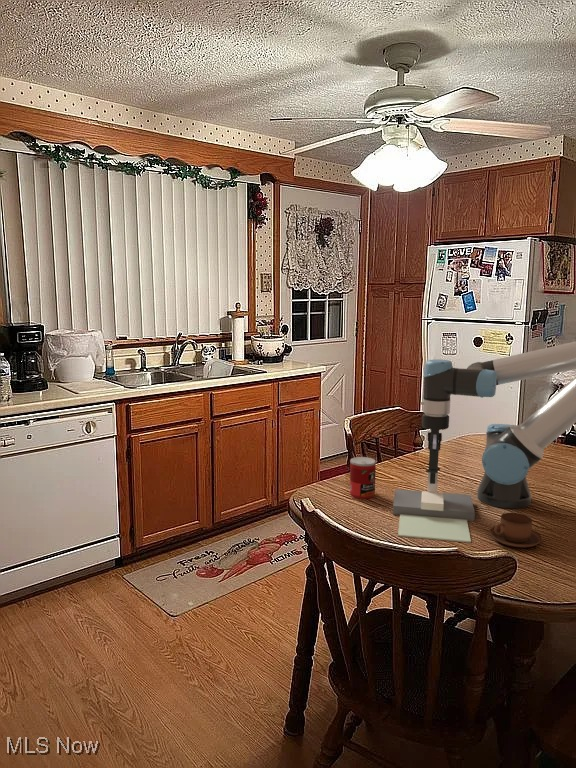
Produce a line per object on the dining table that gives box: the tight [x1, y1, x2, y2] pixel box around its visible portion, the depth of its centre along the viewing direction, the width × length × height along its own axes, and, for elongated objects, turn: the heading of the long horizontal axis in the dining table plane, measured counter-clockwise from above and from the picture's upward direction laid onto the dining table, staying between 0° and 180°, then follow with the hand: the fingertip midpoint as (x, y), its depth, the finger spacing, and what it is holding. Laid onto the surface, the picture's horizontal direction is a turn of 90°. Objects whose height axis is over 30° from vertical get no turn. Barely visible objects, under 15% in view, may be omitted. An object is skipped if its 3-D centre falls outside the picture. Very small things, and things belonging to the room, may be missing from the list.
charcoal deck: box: [392, 488, 476, 522], centre depth 167 cm, size 22×14×2 cm, turn 77°
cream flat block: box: [421, 490, 444, 511], centre depth 164 cm, size 9×6×2 cm, turn 166°
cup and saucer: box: [489, 512, 542, 548], centre depth 146 cm, size 12×12×6 cm
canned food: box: [349, 456, 377, 500], centre depth 178 cm, size 8×8×11 cm
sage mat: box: [397, 514, 472, 543], centre depth 154 cm, size 18×14×1 cm
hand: (431, 492), depth 169 cm, fingers closed
